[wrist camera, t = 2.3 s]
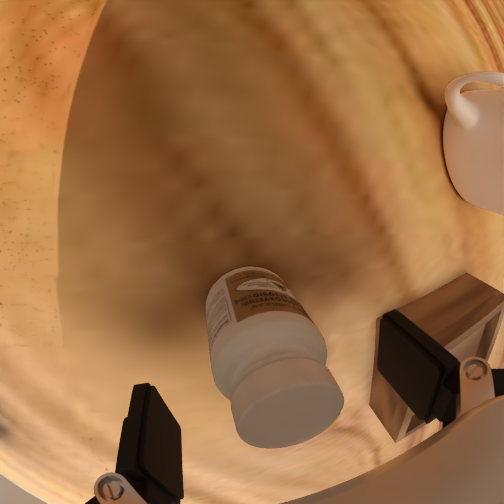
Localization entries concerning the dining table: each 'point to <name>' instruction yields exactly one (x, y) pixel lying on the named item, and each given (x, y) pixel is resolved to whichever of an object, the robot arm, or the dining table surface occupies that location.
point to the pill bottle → (269, 360)
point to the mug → (476, 140)
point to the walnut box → (441, 340)
